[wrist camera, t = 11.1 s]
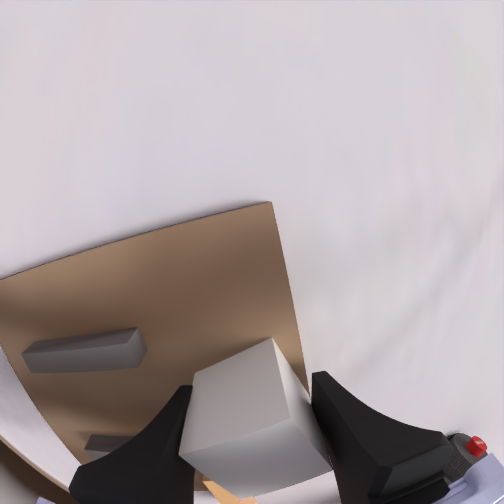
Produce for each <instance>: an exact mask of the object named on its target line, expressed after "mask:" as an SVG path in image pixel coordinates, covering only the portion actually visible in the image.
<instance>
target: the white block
mask: <svg viewBox="0 0 504 504" xmlns="http://www.w3.org/2000/svg"><path fill="white" fill-rule="evenodd" d="M192 386H193V389H192V394H191V399H190V402H189V405H188V408H187V413H186V418H185V423H184V428H183V433H182V438H181V444H180V449H179V454H178V455H179V456H180V457H182V458H183V459H184V460H185V461H187V462H188V463H189V464H190V465H192V466H193V467H194V468H196V469H197V470H198V471H200V472H201V473H202V474H204V475H205V476H206V477H208V478H209V479H210V480H212V481H213V482H215V483H216V484H218V485H219V486H220V487H222V488H223V489H225V490H226V491H228V492H229V493H231V494H233V495H234V496H236V497H237V498H239V499H240V500H241V499H245V498H249V497H254V496H258V495H261V494H265V493H269V492H272V491H276V490H279V489H282V488H286V487H289V486H292V485H295V484H298V483H301V482H303V481H306V480H309V479H312V478H314V477H317V476H320V475H322V474H325V473H327V472H329V471H332V470H333V467H332V464H331V461H330V458H329V455H328V452H327V449H326V446H325V443H324V440H323V437H322V434H321V431H320V428H319V425H318V422H317V420H316V417H315V414H314V411H313V408H312V405H311V401H310V398H309V395H308V393H307V391H306V390H305V388H304V387H303V385H302V384H301V382H300V380H299V379H298V377H297V376H296V374H295V373H294V371H293V370H292V368H291V366H290V365H289V363H288V362H287V360H286V359H285V357H284V355H283V354H282V352H281V351H280V349H279V348H278V346H277V344H276V343H275V341H274V340H273V338H272V337H271V338H269V339H267V340H265V341H263V342H261V343H259V344H257V345H255V346H253V347H251V348H249V349H247V350H244V351H242V352H240V353H238V354H236V355H234V356H232V357H230V358H227V359H225V360H223V361H221V362H219V363H216V364H214V365H212V366H210V367H207V368H205V369H203V370H201V371H198V372H196V373H195V375H194V379H193V384H192Z"/></svg>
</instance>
